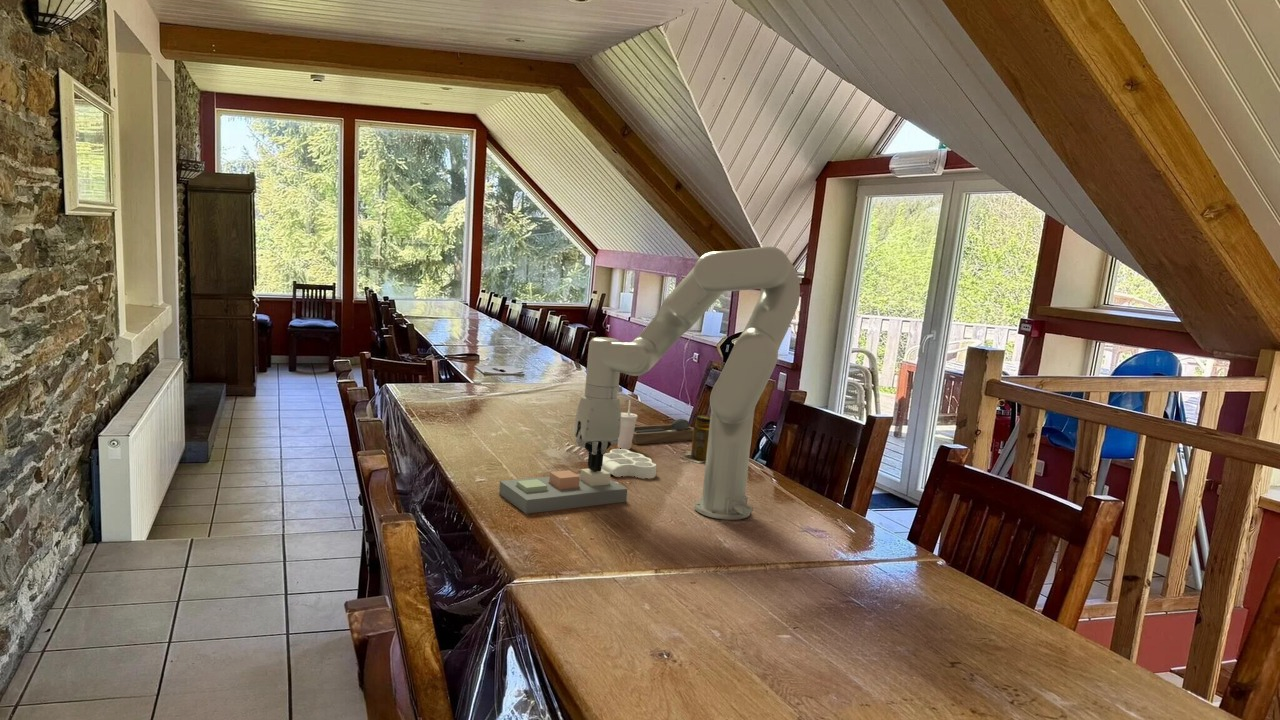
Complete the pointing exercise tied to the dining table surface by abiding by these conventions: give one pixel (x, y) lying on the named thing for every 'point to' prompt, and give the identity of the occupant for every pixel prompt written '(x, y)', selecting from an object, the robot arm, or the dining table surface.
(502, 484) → the button panel
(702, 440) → the condiment
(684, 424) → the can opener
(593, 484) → the cream button
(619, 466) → the white paint palette
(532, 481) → the sage button
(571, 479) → the terracotta button
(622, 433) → the smoothie
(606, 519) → the dining table surface
